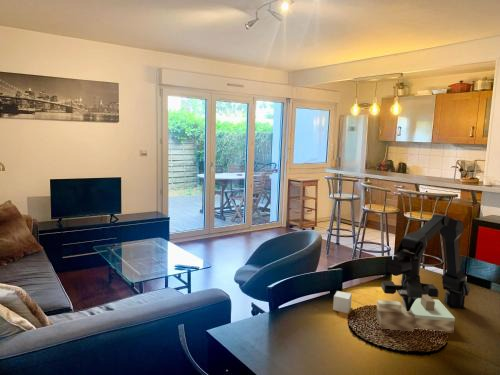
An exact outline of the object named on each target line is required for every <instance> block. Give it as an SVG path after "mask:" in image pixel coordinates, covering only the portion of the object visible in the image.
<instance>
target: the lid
mask: <svg viewBox="0 0 500 375" xmlns="http://www.w3.org/2000/svg"><path fill="white" fill-rule="evenodd" d="M401 299H402V300H403V298H402V297H401ZM402 300H401V301H402ZM403 302H404V301H403ZM410 311H411V312H412V314H413V315H414V317H415V318H420V319H432V320H445V321H455V322H456V318H455V316H454V315H453V314H452V313H451V311H450V310H449V309H447V307H445V305H444V304H443V303H442V302H441V301H440V299H435V298H434V299H433V297H430V296H429V295H428V294H426V295H422V298H417V299H416V300H415V301H414V303H413V305H412V307H411V309H410Z"/></svg>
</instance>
